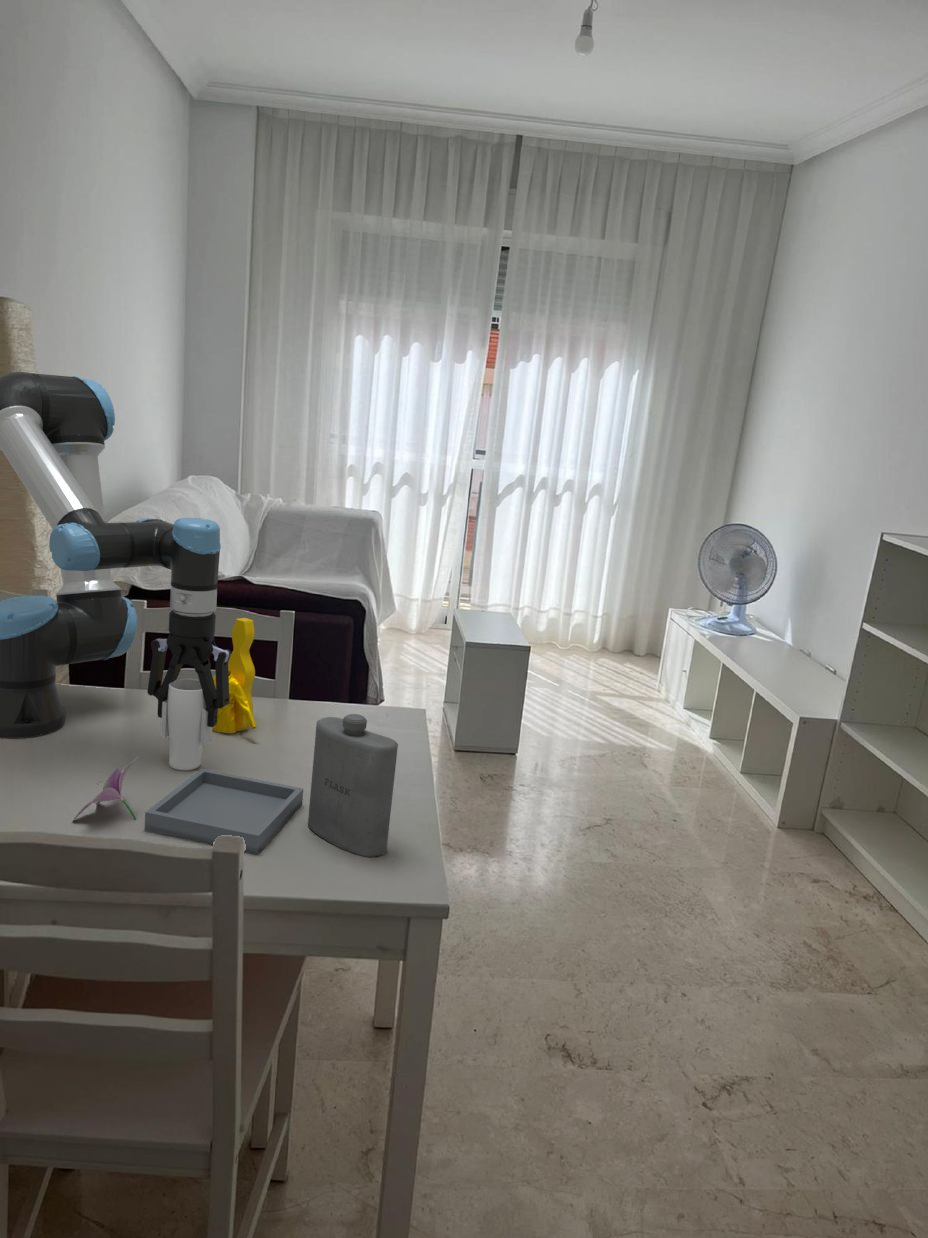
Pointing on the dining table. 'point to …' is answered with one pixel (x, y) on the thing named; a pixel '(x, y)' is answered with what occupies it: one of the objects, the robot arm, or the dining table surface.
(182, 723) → the drinking glass
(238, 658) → the figure statuette
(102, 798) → the lily
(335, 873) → the dining table surface
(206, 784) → the tray
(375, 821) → the flask
